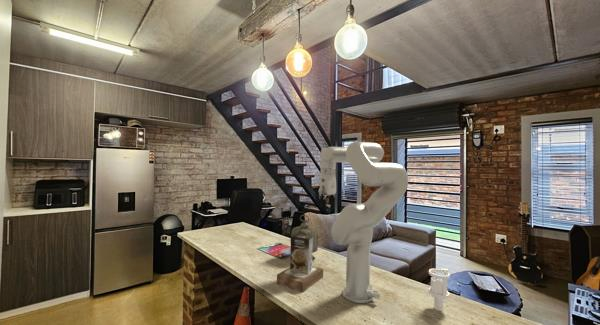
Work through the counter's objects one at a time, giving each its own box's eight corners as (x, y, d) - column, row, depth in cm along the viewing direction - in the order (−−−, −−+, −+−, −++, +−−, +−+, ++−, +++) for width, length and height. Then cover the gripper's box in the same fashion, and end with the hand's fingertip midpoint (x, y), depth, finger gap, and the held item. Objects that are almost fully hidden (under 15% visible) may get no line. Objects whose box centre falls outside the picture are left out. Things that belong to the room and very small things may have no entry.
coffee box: (289, 271, 118) (290, 236, 119) (294, 266, 124) (295, 233, 125) (308, 274, 115) (308, 238, 115) (312, 269, 121) (313, 235, 121)
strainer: (453, 313, 95) (454, 273, 95) (435, 314, 94) (436, 273, 95) (441, 303, 102) (442, 265, 102) (424, 303, 101) (425, 265, 102)
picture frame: (323, 277, 124) (323, 267, 124) (302, 292, 109) (302, 281, 109) (298, 270, 131) (299, 261, 131) (276, 283, 116) (277, 273, 116)
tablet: (279, 243, 176) (279, 242, 176) (305, 252, 159) (305, 251, 159) (256, 249, 163) (256, 248, 163) (281, 260, 145) (281, 259, 145)
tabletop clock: (318, 259, 147) (318, 215, 147) (308, 264, 140) (309, 218, 140) (298, 253, 156) (299, 212, 156) (288, 257, 149) (289, 214, 149)
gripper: (326, 172, 122) (326, 208, 122) (341, 172, 136) (341, 204, 136) (313, 172, 126) (312, 207, 126) (329, 171, 140) (328, 203, 140)
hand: (327, 205), depth 131 cm, fingers open, 9 cm apart
